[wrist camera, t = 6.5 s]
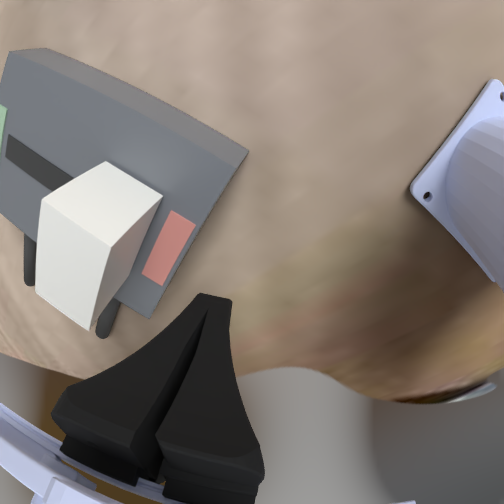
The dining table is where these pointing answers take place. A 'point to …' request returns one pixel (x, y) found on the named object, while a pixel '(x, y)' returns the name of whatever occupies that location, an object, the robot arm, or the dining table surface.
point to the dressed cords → (29, 279)
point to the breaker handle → (91, 240)
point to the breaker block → (108, 156)
